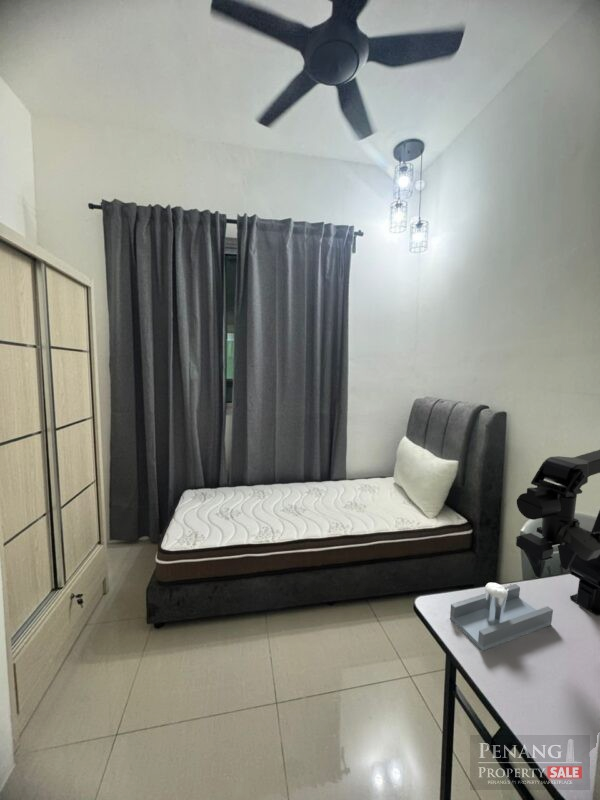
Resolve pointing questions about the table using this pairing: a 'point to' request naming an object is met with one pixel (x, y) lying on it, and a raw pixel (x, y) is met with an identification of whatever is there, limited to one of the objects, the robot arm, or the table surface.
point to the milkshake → (495, 602)
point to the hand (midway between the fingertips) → (551, 572)
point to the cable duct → (514, 623)
